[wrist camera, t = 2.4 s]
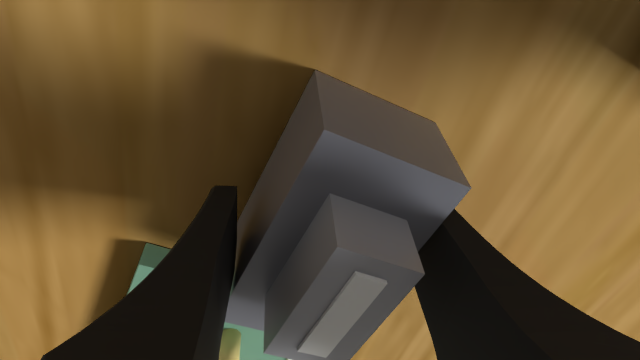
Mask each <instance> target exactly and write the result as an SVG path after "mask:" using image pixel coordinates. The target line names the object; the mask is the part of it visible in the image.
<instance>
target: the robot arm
mask: <svg viewBox="0 0 640 360" xmlns="http://www.w3.org/2000/svg"><path fill="white" fill-rule="evenodd" d="M236 247H237V186H214V187H213V188H212V189H211V191H210V193H209V195H208V197H207V199H206V201H205V202H204V204H203V206H202V207H201V209H200V211H199V212H198V214H197V215H196V217H195V218H194V220H193V221H192V223H191V224H190V225H189V227H188V228H187V230H186V231H185V233H184V234H183V235H182V237H181V238H180V239H179V240H178V241H177V243H176V244H175V245H174V246H173V248H172V249H171V250H170V251H169V253H168V254H167V255H166V256H165V257H164V258H163V260H162V261H161V262H160V263H159V264H158V265H157V266H156V267H155V268H154V269H153V270H152V271H151V272H150V273H149V274H148V276H147V277H146V278H145V279H144V280H142V281H141V282H140V283H139V284H138V285H137V286H136V287H135V288H134V289H133V290H132V291H131V292H130V293H128V294H127V295H126V296H125V297H124V298H123V299H122V300H120V301H119V302H118V303H117V304H116V305H114V306H113V307H112V308H111V309H109V310H108V311H107V312H105V313H104V314H103V315H102V316H100V317H99V318H98V319H96V320H95V321H94V322H93V323H91V324H90V325H89V326H87V327H86V328H85V329H83V330H82V331H80V332H79V333H77V334H76V335H74V336H73V337H71V338H70V339H68V340H67V341H65V342H64V343H62V344H61V345H59V346H58V347H56V348H54V349H53V350H51V351H50V352H48V353H46V354H45V355H43V357H42V358H41V360H219V352H220V345H221V338H222V333H223V328H224V323H225V318H226V312H227V307H228V302H229V297H230V292H231V287H232V281H233V276H234V271H235V260H236ZM418 254H419V257H420V260H421V263H422V266H423V269H424V272H425V275H424V276H423V277H422V278H421V279H420V280H419V282H418V283H417V284H416V285H415V289H416V292H417V295H418V298H419V301H420V304H421V307H422V310H423V313H424V316H425V319H426V322H427V325H428V328H429V331H430V334H431V337H432V341H433V344H434V348H435V351H436V356H437V360H640V342H639V341H637V340H635V339H632V338H630V337H628V336H626V335H624V334H622V333H620V332H618V331H616V330H614V329H612V328H610V327H609V326H607V325H605V324H603V323H601V322H599V321H598V320H596V319H594V318H592V317H590V316H589V315H587V314H585V313H583V312H582V311H580V310H578V309H577V308H575V307H573V306H572V305H570V304H569V303H567V302H566V301H564V300H562V299H561V298H559V297H558V296H556V295H555V294H553V293H552V292H550V291H549V290H547V289H546V288H544V287H543V286H541V285H540V284H539V283H537V282H536V281H535V280H533V279H532V278H531V277H529V276H528V275H527V274H525V273H524V272H523V271H521V270H520V269H519V268H518V267H516V266H515V265H514V264H513V263H511V262H510V261H509V260H508V259H507V258H506V257H504V256H503V255H502V254H501V253H500V252H499V251H497V250H496V249H495V248H494V247H493V246H492V245H491V244H490V243H489V242H488V241H486V240H485V239H484V238H483V237H482V236H481V235H480V234H479V233H478V232H477V231H476V230H475V229H474V228H473V227H472V226H471V225H470V224H469V223H468V222H467V221H466V220H465V219H464V218H463V217H462V216H461V215H460V214H459V213H458V212H457V211H456V210H455V209H453V211H452V212H451V213H450V214H449V215H448V217H447V218H446V219H445V220H444V221H443V223H442V224H441V225H440V226H439V227H438V229H437V230H436V231H435V232H434V233H433V234H432V236H431V237H430V238H429V239H428V240H427V242H426V243H425V244H424V245H423V246H422V248H421V249H420V250H419V251H418Z"/></svg>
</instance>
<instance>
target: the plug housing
mask: <svg viewBox="0 0 640 360" xmlns="http://www.w3.org/2000/svg"><path fill="white" fill-rule="evenodd" d="M470 189H471V186H470V185H469V183H468V181H467V179H466V177H465V176H464V174H463V172H462V170H461V168H460V166H459V165H458V163H457V161H456V159H455V157H454V156H453V154H452V152H451V150H450V148H449V146H448V145H447V143H446V141H445V139H444V137H443V136H442V134H441V132H440V130H439V128H438V126H437V125H436V123H435V122H433V121H430V120H428V119H426V118H424V117H421V116H419V115H417V114H415V113H412V112H410V111H408V110H405V109H403V108H401V107H399V106H396V105H394V104H392V103H390V102H387V101H385V100H383V99H380V98H378V97H376V96H374V95H371V94H369V93H367V92H365V91H362V90H360V89H358V88H355V87H353V86H351V85H349V84H346V83H344V82H342V81H340V80H337V79H335V78H333V77H330V76H328V75H326V74H324V73H321V72H319V71H317V70H314V72H313V74H312V76H311V78H310V80H309V82H308V84H307V86H306V88H305V90H304V92H303V94H302V96H301V98H300V100H299V102H298V104H297V106H296V108H295V110H294V112H293V114H292V115H291V117H290V119H289V121H288V123H287V125H286V127H285V129H284V131H283V133H282V135H281V137H280V139H279V141H278V143H277V145H276V147H275V149H274V151H273V153H272V155H271V157H270V159H269V161H268V163H267V165H266V166H265V168H264V170H263V172H262V174H261V176H260V178H259V180H258V182H257V184H256V186H255V188H254V190H253V192H252V194H251V196H250V198H249V200H248V202H247V204H246V206H245V208H244V210H243V212H242V214H241V216H240V217H239V219H238V221H237V247H236V260H235V271H234V276H233V281H232V287H231V292H230V297H229V302H228V307H227V312H226V318H225V322H226V323H231V324H235V325H239V326H243V327H248V328H252V329H256V330H261V331H264V352H263V353H264V354H269V355H273V356H278V357H283V358H287V359H292V360H350V359H351V358H352V357H353V356H354V354H355V353H356V352H357V351H358V350H359V349H360V348H361V346H362V345H363V344H364V343H365V342H366V341H367V340H368V338H369V337H370V336H371V335H372V334H373V333H374V332H375V331H376V329H377V328H378V327H379V326H380V325H381V324H382V323H383V321H384V320H385V319H386V318H387V317H388V316H389V315H390V313H391V312H392V311H393V310H394V309H395V308H396V307H397V305H398V304H399V303H400V302H401V301H402V300H403V299H404V298H405V296H406V295H407V294H408V293H409V292H410V291H411V290H412V288H413V287H414V286H415V285H416V284H417V283H418V282H419V280H420V279H421V278H422V277H423V276H424V275H425V272H424V269H423V266H422V263H421V260H420V257H419V254H418V251H419V250H420V249H421V248H422V246H423V245H424V244H425V243H426V242H427V240H428V239H429V238H430V237H431V236H432V234H433V233H434V232H435V231H436V230H437V229H438V227H439V226H440V225H441V224H442V223H443V221H444V220H445V219H446V218H447V217H448V215H449V214H450V213H451V212H452V211H453V209H454V208H455V207H456V206H457V205H458V203H459V202H460V201H461V200H462V199H463V197H464V196H465V195H466V194H467V193H468V191H469V190H470Z"/></svg>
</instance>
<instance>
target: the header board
mask: <svg viewBox="0 0 640 360" xmlns="http://www.w3.org/2000/svg"><path fill="white" fill-rule="evenodd" d="M170 250H171V249H167V248H164V247H160V246H156V245H153V244H149V243H146V244H145V247H144V250H143V252H142V255H141V258H140V260H139V263H138V266H137V268H136V271H135V274H134V276H133V279H132V281H131V284H130V287H129V289H128V292H127V294H128V293H130V292H131V291H132V290H133V289H134V288H135V287H136V286H137V285H138V284H139V283H140V282H141V281H142V280H144V279H145V278H146V277H147V276H148V274H149V273H150V272H151V271H152V270H153V269H154V268H155V267H156V266H157V265H158V264H159V263H160V262H161V261H162V260H163V258H164V257H165V256H166V255H167V254H168V253H169V251H170ZM263 352H264V331H261V330H256V329H252V328H248V327H243V326H239V325H235V324H231V323H226V322H225V323H224V328H223V333H222V338H221V345H220V352H219V360H292V359H287V358H283V357H278V356H273V355H269V354H264V353H263Z"/></svg>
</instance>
